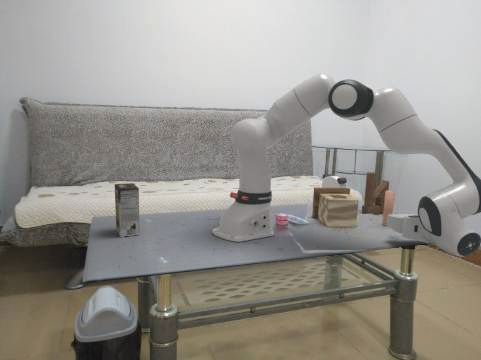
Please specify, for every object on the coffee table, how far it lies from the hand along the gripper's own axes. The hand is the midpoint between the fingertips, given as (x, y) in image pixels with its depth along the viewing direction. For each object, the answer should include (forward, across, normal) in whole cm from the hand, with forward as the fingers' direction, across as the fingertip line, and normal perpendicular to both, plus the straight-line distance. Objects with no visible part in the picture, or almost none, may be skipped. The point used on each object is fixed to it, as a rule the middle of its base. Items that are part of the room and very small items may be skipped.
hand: (406, 215), depth 123 cm
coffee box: (+9, +94, +8) cm, 94 cm away
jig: (+13, +18, +8) cm, 23 cm away
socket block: (+16, +18, +7) cm, 25 cm away
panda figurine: (+41, +10, +8) cm, 43 cm away
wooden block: (+33, -6, +8) cm, 35 cm away
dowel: (+12, 0, +8) cm, 15 cm away
